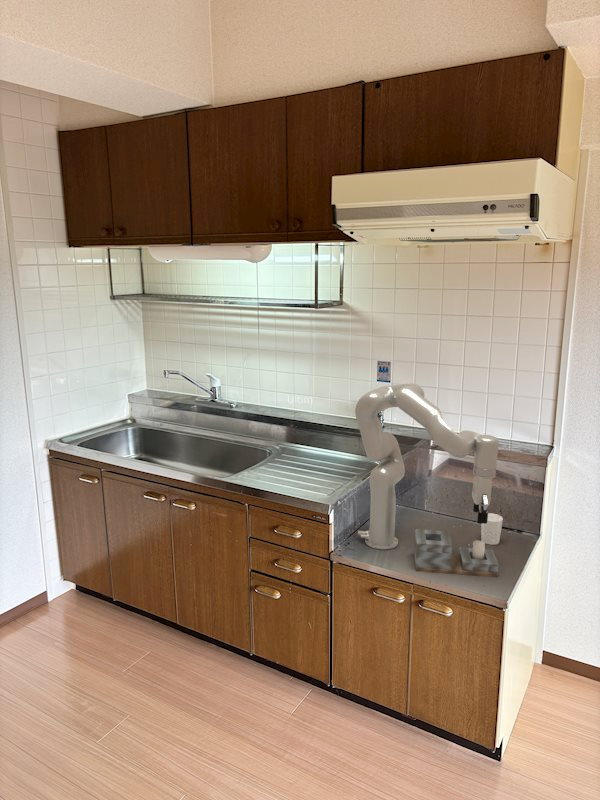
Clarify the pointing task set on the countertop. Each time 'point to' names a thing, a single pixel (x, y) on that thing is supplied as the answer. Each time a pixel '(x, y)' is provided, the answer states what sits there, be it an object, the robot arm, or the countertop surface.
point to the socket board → (450, 556)
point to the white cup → (491, 529)
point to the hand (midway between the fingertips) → (480, 517)
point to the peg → (478, 550)
